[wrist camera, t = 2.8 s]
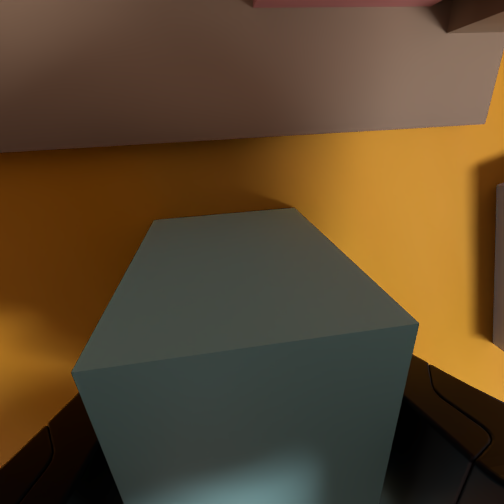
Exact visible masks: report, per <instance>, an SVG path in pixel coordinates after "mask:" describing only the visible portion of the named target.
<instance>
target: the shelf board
mask: <svg viewBox="0 0 504 504" xmlns="http://www.w3.org/2000/svg"><path fill="white" fill-rule="evenodd" d="M503 50H504V0H442V1H440V2H438V3H436V4H434V5H433V6H418V7H300V8H253V0H0V153H3V152H20V151H37V150H54V149H71V148H88V147H105V146H121V145H138V144H155V143H172V142H189V141H206V140H223V139H240V138H257V137H274V136H290V135H307V134H324V133H341V132H358V131H375V130H392V129H409V128H426V127H443V126H459V125H476V124H485V122H486V118H487V114H488V110H489V106H490V102H491V98H492V94H493V90H494V86H495V82H496V78H497V74H498V70H499V66H500V62H501V58H502V54H503Z"/></svg>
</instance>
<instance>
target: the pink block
mask: <svg viewBox="0 0 504 504" xmlns="http://www.w3.org/2000/svg"><path fill="white" fill-rule="evenodd" d="M440 1H442V0H253V8H300V7H418V6H433V5H434V4H436V3H438V2H440Z"/></svg>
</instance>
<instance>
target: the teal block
mask: <svg viewBox="0 0 504 504" xmlns="http://www.w3.org/2000/svg"><path fill="white" fill-rule="evenodd" d="M418 326H419V323H418V322H417V321H416V320H415V319H414V318H413V317H412V316H411V315H410V314H409V313H408V312H406V311H405V310H404V309H403V308H402V307H401V306H400V305H399V304H398V303H397V302H396V301H395V300H393V299H392V298H391V297H390V296H389V295H388V294H387V293H386V292H385V291H384V290H383V289H382V288H381V287H379V286H378V285H377V284H376V283H375V282H374V281H373V280H372V279H371V278H370V277H369V276H368V275H367V274H365V273H364V272H363V271H362V270H361V269H360V268H359V267H358V266H357V265H356V264H355V263H354V262H353V261H351V260H350V259H349V258H348V257H347V256H346V255H345V254H344V253H343V252H342V251H341V250H340V249H338V248H337V247H336V246H335V245H334V244H333V243H332V242H331V241H330V240H329V239H328V238H327V237H326V236H324V235H323V234H322V233H321V232H320V231H319V230H318V229H317V228H316V227H315V226H314V225H313V224H312V223H310V222H309V221H308V220H307V219H306V218H305V217H304V216H303V215H302V214H301V213H300V212H299V211H298V210H296V209H295V208H284V209H273V210H261V211H250V212H239V213H227V214H216V215H205V216H194V217H182V218H171V219H160V220H154V221H153V223H152V225H151V227H150V228H149V230H148V232H147V234H146V236H145V238H144V239H143V241H142V243H141V245H140V247H139V249H138V251H137V252H136V254H135V256H134V258H133V260H132V262H131V263H130V265H129V267H128V269H127V271H126V273H125V274H124V276H123V278H122V280H121V282H120V284H119V285H118V287H117V289H116V291H115V293H114V295H113V296H112V298H111V300H110V302H109V304H108V306H107V308H106V309H105V311H104V313H103V315H102V317H101V319H100V320H99V322H98V324H97V326H96V328H95V330H94V331H93V333H92V335H91V337H90V339H89V341H88V342H87V344H86V346H85V348H84V350H83V352H82V354H81V355H80V357H79V359H78V361H77V363H76V365H75V366H74V368H73V370H72V372H71V373H72V376H73V378H74V381H75V383H76V386H77V388H78V391H79V393H80V396H81V398H82V401H83V403H84V406H85V408H86V411H87V413H88V416H89V418H90V421H91V423H92V426H93V428H94V431H95V433H96V436H97V438H98V441H99V443H100V446H101V448H102V451H103V453H104V456H105V458H106V461H107V463H108V466H109V468H110V470H111V473H112V475H113V478H114V480H115V483H116V485H117V488H118V490H119V493H120V495H121V498H122V500H123V503H124V504H379V501H380V496H381V492H382V487H383V483H384V478H385V474H386V470H387V465H388V461H389V456H390V452H391V447H392V443H393V438H394V434H395V429H396V425H397V420H398V416H399V411H400V407H401V402H402V398H403V394H404V389H405V385H406V380H407V376H408V371H409V367H410V362H411V358H412V353H413V349H414V344H415V340H416V335H417V331H418Z"/></svg>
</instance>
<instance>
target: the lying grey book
mask: <svg viewBox="0 0 504 504" xmlns="http://www.w3.org/2000/svg"><path fill="white" fill-rule="evenodd" d="M493 344H495V345H496V346H497V347H499V348H500V349H501V350H503V351H504V183H501V184H498V185H497V191H496V231H495V271H494V310H493Z"/></svg>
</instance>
